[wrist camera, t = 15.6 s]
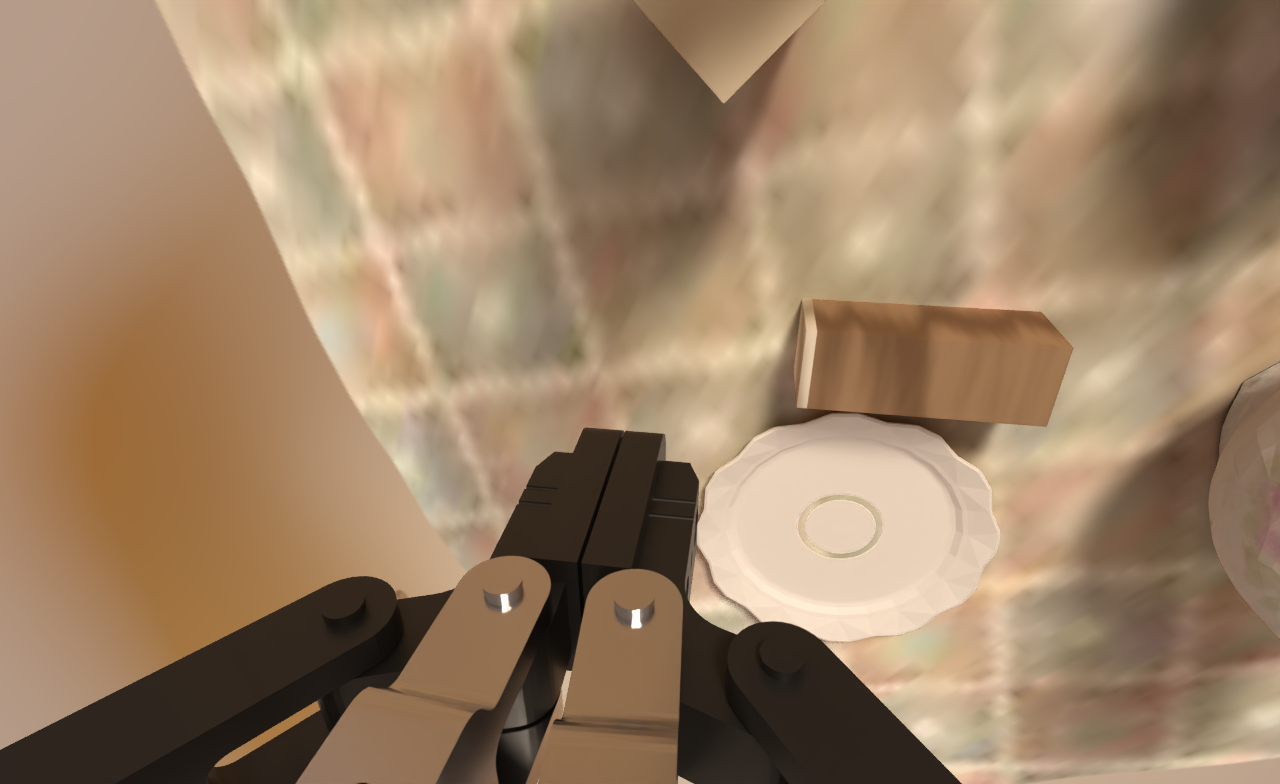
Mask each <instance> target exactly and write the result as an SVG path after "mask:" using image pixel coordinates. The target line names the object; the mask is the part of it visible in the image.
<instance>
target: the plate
mask: <svg viewBox="0 0 1280 784" xmlns="http://www.w3.org/2000/svg"><path fill="white" fill-rule="evenodd" d="M840 494H842V495H851V496H855V497H858V498H861V499H863V500H865V501H866V502H868V503H870V504H871V505H872V506H873V507H874V508H875V509H876V510H877V511H878V513H879V515H880V517H881V519H882V526H883V529H882V533H881V537H880V538H879V540H878V541H877V543H876V544H875V545H874V546H873V547H872V548H871V549H870V550H868V551H866V552H865V553H863V554H861V555H858V556H855V557H851V558H842V559H837V558H828V557H825V556H822V555H819V554H817V553H815V552H814V551H812V550H810V549H809V548H808V547H807V546H806V545H805V544H804V543H803V541H802V540H801V538H800V536H799V532H798V521H799V518H800V516H801V514H802V512H803V510H804V509H805V508H806V507H807V506H808V505H809V504H811V503H813V502H814V501H816V500H818V499H820V498H823V497H826V496H829V495H840ZM875 530H876V524H875V520H874V518H873V515H872V514H871V513H870V512H869V511H868V510H867V508H865V507H863V506H862V505H860V504H858V503H855V502H852V501H847V500H834V501H829V502H826V503H823V504H821V505H819V506H817V507H816V508H814V509H813V510H812V511H811V512H810V513H809V515H808V517H807V519H806V521H805V532H806V535H807V537H808V539H809V541H810V542H811V543H812V544H813V545H814V546H816V547H818V548H819V549H821V550H823V551H826V552H829V553H837V554H843V553H850V552H854V551H857V550H859V549H861V548H863V547H865V546H866V545H867V544H868V543H869V542H870V541H871V539H872V538H873V536H874V534H875ZM1000 533H1001V532H1000V530H999V527H998V525H997V522H996V520H995V518H994V515H993V513H992V488H991V487H990V485H989V483H988V482H987V480H986V479H985V477H984V475H983V474H982V472H981V470H980V469H978V468H977V467H975V466H974V465H972V464H970V463H969V462H967V461H966V460H964V459H962V458H961V457H959V456H958V455H956V453H955V452H954V451H953V450H952V449H951V448H950V446H949V445H948V444H947V443H946V442H945V441H944V439H943V438H942V437H941V436H940V435H938V434H936V433H934V432H932V431H930V430H928V429H925V428H923V427H921V426H919V425H915V424H903V423H892V422H885V421H882V420H879V419H876V418H873V417H870V416H867V415H864V414H861V413H831V414H828V415H825V416H822V417H820V418H817V419H814V420H811V421H809V422H806V423H802V424H794V425H786V426H777V427H773V428H771V429H769V430H767V431H765V432H763V433H761V434H759V435H757V436H755V437H753V439H752V440H751V441H750V442H749V443H748V444H747V446H746V447H745V448H744V449H743V450H742V451H741V452H740V454H739V455H738V456H737V457H735V458H734V459H732V460H731V461H729V462H728V463H726V464H725V465H723V466H722V467H720V468H719V469H717V470H716V471H715V473H714V474H713V476H712V478H711V479H710V481H709V482H708V484H707V486H706V488H705V502H704V510H703V512H702V514H701V516H700V519H699V521H698V523H697V546H698V547H699V549H700V550H701V552H702V554H703V555H704V557H705V558H706V560H707V562H708V563H709V566H710V570H711V574H712V578H713V582H714V583H715V584H716V586H717V587H718V588H719V589H720V590H721V592H722V593H723V594H724V595H725V596H726V597H728V598H729V599H731V600H733V601H735V602H736V603H738V604H740V605H742V606H744V607H745V608H747V609H748V610H749V611H750V612H751V613H752V614H753V615H754V616H755V617H756V618H757V619H758V620H759V621H761V622H769V621H777V622H785V623H790V624H793V625H796V626H799V627H801V628H803V629H805V630H807V631H809V632H811V633H812V634H814V635H815V636H816V637H817V638H819V639H822V640H825V641H831V642H853V641H857V640H861V639H865V638H870V637H876V636H899V635H902V634H905V633H908V632H911V631H914V630H917V629H920V628H921V627H923V626H924V625H925V624H927V623H928V622H929V621H931V620H932V619H933V618H934V617H936V616H937V615H938V614H941V613H943V612H945V611H947V610H949V609H952V608H954V607H956V606H958V605H960V604H962V603H963V602H964V601H965V600H966V599H967V598H968V597H969V596H970V595H971V594H972V593H973V592H974V591H975V590H976V589H977V586H978V583H979V580H980V577H981V574H982V571H983V569H984V568H985V567H986V565H987V564H988V563H989V561H990V560H991V559H992V558H993V556H994V555H995V554H996V552H997V551H998V545H999V539H1000Z"/></svg>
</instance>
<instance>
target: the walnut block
mask: <svg viewBox="0 0 1280 784" xmlns="http://www.w3.org/2000/svg"><path fill="white" fill-rule="evenodd" d="M1072 350H1073V347H1072V345H1071V344H1070V343H1069V342H1068V341H1067V340H1066V339H1065V338H1064V337H1063V335H1062V334H1061V333H1060V332H1059V331H1058V330H1057V329H1056V328H1055V327H1054V326H1053V324H1052V323H1051V322H1050V321H1049V320H1048V319H1047V318H1046V317H1045V316H1044V314H1043V313H1042V312H1033V311H1015V310H997V309H978V308H960V307H942V306H924V305H906V304H888V303H870V302H852V301H834V300H815V299H802V305H801V313H800V322H799V330H798V338H797V346H796V355H795V363H794V380H795V393H796V406H797V408H808V409H821V410H834V411H847V412H860V413H873V414H886V415H900V416H913V417H926V418H939V419H952V420H965V421H978V422H991V423H1004V424H1017V425H1030V426H1043V427H1047V424H1048V421H1049V418H1050V415H1051V412H1052V409H1053V406H1054V404H1055V401H1056V398H1057V395H1058V392H1059V389H1060V386H1061V383H1062V380H1063V377H1064V374H1065V371H1066V368H1067V365H1068V362H1069V359H1070V356H1071V353H1072Z"/></svg>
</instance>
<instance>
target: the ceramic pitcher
mask: <svg viewBox="0 0 1280 784" xmlns="http://www.w3.org/2000/svg"><path fill="white" fill-rule="evenodd" d="M1208 511H1209V518H1210V526H1211V533H1212V541H1213V545H1214V547H1215V550H1216V552H1217V555H1218V558H1219V560H1220V563H1221V565H1222V567H1223V568H1224V570H1225V572H1226V574H1227V575H1228V577H1229V579H1230V580H1231V582H1232V584H1233V585H1234V587H1235V589H1236V590H1237V591H1238V593H1239V594H1240V595H1241V597H1242V598H1243V599H1244V601H1245V602H1246V603H1247V604H1248V605H1249V606H1250V608H1251V609H1252V610H1253V611H1254V612H1255V613H1256V614H1257V615H1258V616H1259V617H1260V619H1261V620H1262V621H1263V622H1264V623H1265V624H1266V625H1267V626H1268V627H1269V628H1270V629H1271V631H1272V632H1273V633H1274V634H1275V635H1276V636H1277V637H1278V638H1279V639H1280V362H1279V363H1277V364H1276V365H1274V366H1272V367H1270V368H1268V369H1267V370H1265V371H1263V372H1261V373H1259V374H1257V375H1256V376H1254V377H1252V378H1250V379H1248V380H1246V381H1244V383H1243V385H1242V387H1241V389H1240V391H1239V393H1238V395H1237V397H1236V399H1235V400H1234V402H1233V404H1232V406H1231V408H1230V409H1229V412H1228V414H1227V417H1226V419H1225V422H1224V424H1223V427H1222V432H1221V438H1220V446H1219V456H1218V463H1217V466H1216V469H1215V472H1214V475H1213V477H1212V481H1211V485H1210V489H1209V498H1208Z"/></svg>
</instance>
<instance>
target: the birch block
mask: <svg viewBox="0 0 1280 784" xmlns="http://www.w3.org/2000/svg"><path fill="white" fill-rule="evenodd" d="M633 1H634V2H635V4H636V5H637V6H638V7H639V8H640V9H641V10H642V11H643V13H644V14H645V15H646V16H647V17H648V18H649V19H650V21H651V22H652V23H653V24H654V25H655V26H656V27H657V29H658V30H659V31H660V32H661V33H662V34H663V35H664V36H665V38H666V39H667V40H668V41H669V42H670V43H671V44H672V46H673V47H674V48H675V49H676V50H677V51H678V52H679V54H680V55H681V56H682V57H683V58H684V59H685V60H686V61H687V63H688V64H689V65H690V66H691V67H692V68H693V69H694V71H695V72H696V73H697V74H698V75H699V76H700V77H701V79H702V80H703V81H704V82H705V83H706V84H707V85H708V86H709V88H710V89H711V90H712V91H713V92H714V93H715V94H716V96H717V97H718V98H719V99H720V100H721V101H722V102H723V103H725V102H726V101H727V100H728V99H729V98H730V97H731V96H732V95H733V94H734V93H735V92H736V91H737V90H738V89H739V88H740V87H741V86H742V85H743V84H744V83H745V82H746V81H747V80H748V79H749V78H750V77H751V76H752V75H753V74H754V73H755V72H756V71H757V70H758V69H759V68H760V66H761V65H762V64H763V63H764V62H765V61H766V60H767V59H768V58H769V57H770V56H771V55H772V54H773V53H774V52H775V51H776V50H777V49H778V48H779V47H780V46H781V45H782V44H783V43H784V42H785V41H786V40H787V39H788V38H789V37H790V36H791V35H792V34H793V33H794V32H795V31H796V30H797V29H798V28H799V27H800V26H801V25H802V24H803V23H804V22H805V21H806V20H807V19H808V18H809V17H810V16H811V15H812V14H813V13H814V12H815V11H816V10H817V9H818V8H819V7H820V6H821V5H822V4H823V3H824V2H825V1H826V0H633Z"/></svg>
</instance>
